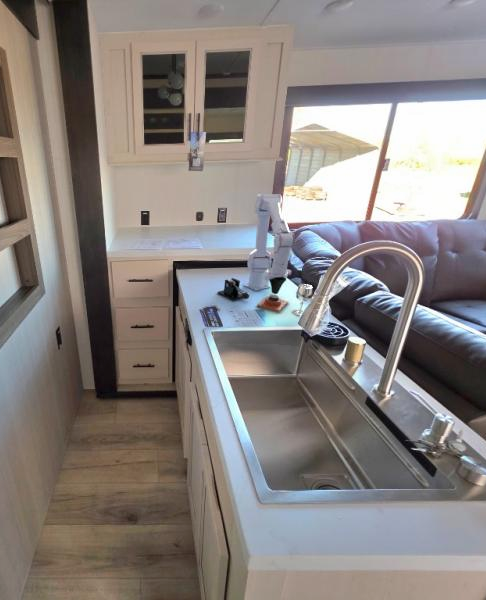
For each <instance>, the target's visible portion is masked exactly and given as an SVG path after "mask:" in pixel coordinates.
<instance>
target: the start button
mask: <svg viewBox="0 0 486 600" xmlns="http://www.w3.org/2000/svg"><path fill="white" fill-rule="evenodd" d="M269 296H270V297H269V300H271V301H278V298H280V297H279V295H277V294H270V295H269Z"/></svg>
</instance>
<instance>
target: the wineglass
mask: <svg viewBox="0 0 486 600" xmlns="http://www.w3.org/2000/svg"><path fill="white" fill-rule="evenodd" d="M312 296H313V286H312V285H310V284H305V283H301V284H299V285H298V287H297V289H296V291H295V298H296V299H297V300H298V301H300V306H299V310H295V311H293V313H294V315H297V316H300V315H301V313H302V312H303V311H302V309H303V308H302V307H303V305H304V302H308V301H310V300H311V299H312Z"/></svg>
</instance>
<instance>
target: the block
mask: <svg viewBox="0 0 486 600" xmlns="http://www.w3.org/2000/svg"><path fill="white" fill-rule="evenodd" d="M269 297H270V295H268V296H267V295H266V297H265V298H263V299H262V300H261V301H260V302H259V303H258V304H257V308H260V309H263V310H267V311H271V312H275V313H280V312H281V311H282V310H283V309H284V308H285V307H286V306H287V305H288V303H289V300H285V299H282V298H280V297H279V298H278V301H271V300H269Z"/></svg>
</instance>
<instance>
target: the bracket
mask: <svg viewBox="0 0 486 600" xmlns="http://www.w3.org/2000/svg"><path fill="white" fill-rule="evenodd" d="M230 280H233V281H235V282H236V283H237V284H236V286H237V287H239V288H240V283H241V280H239V279H237V278H234V277H232V278H231V279H230ZM230 280H229V279H224V284H223V285H224V287H223V290H219V291H217V295H219V296H221V297H224V298H226V299H228V300H230V301H232V302H234V301H235V302H236V301H239V300H242V299H244V298H243V297H242V294H241V293H240V292H238V291H237V290H236V289H235V288H233V283H234V282H231V281H230Z"/></svg>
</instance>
